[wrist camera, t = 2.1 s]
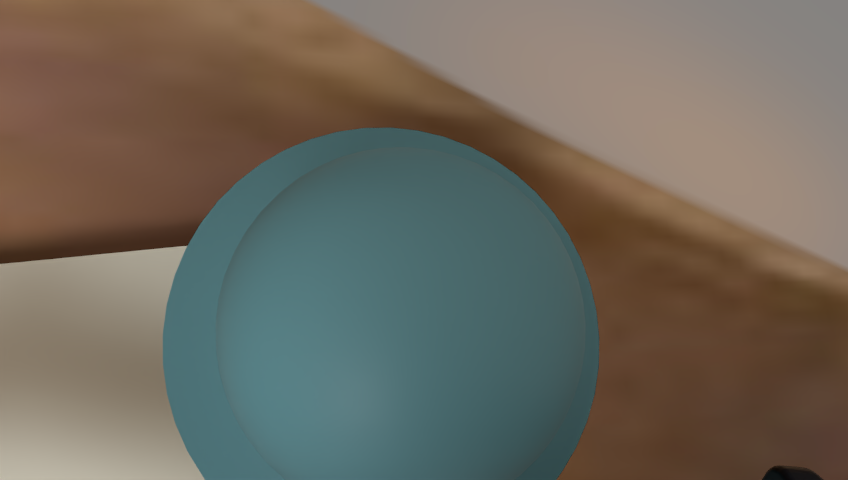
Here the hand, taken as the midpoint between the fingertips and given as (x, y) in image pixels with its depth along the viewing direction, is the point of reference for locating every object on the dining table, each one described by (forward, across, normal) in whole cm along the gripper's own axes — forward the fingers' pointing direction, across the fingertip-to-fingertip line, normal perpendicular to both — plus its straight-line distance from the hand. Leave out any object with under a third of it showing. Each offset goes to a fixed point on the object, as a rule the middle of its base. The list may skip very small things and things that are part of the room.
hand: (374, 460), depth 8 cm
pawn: (+7, 0, +5) cm, 9 cm away
